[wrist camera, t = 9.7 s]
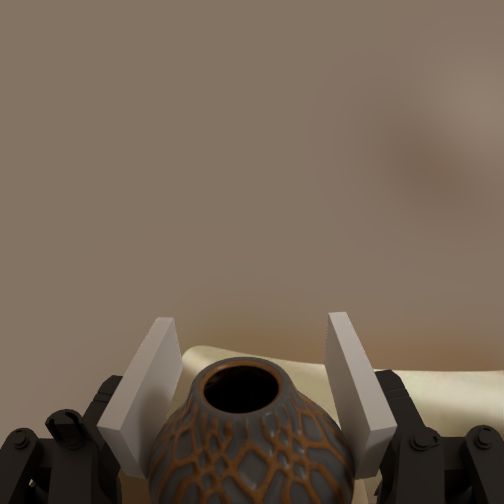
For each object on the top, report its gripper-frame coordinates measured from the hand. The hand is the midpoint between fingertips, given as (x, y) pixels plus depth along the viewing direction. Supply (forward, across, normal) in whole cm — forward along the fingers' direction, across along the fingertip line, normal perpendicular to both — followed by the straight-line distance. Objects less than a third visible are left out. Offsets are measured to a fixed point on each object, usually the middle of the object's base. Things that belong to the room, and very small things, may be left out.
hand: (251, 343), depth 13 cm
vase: (-6, 0, -6) cm, 9 cm away
